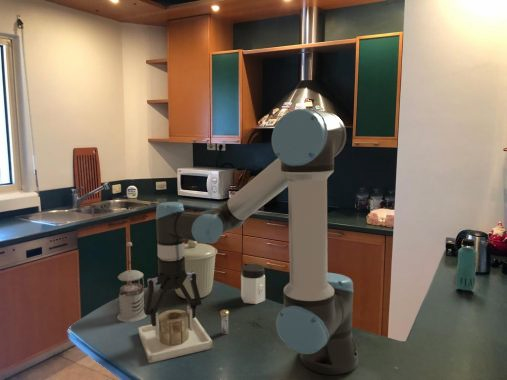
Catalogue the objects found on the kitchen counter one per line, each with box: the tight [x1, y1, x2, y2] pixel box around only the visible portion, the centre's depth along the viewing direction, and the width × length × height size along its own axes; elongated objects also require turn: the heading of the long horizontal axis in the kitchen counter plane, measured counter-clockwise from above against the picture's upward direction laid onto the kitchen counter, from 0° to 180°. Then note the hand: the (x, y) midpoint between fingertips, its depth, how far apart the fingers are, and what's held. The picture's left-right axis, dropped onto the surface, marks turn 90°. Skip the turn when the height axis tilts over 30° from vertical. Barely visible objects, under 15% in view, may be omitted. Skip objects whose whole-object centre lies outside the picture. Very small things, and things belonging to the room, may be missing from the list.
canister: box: [174, 240, 218, 300], centre depth 151 cm, size 18×18×21 cm
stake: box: [219, 309, 230, 335], centre depth 122 cm, size 3×3×7 cm
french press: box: [116, 241, 148, 323], centre depth 134 cm, size 10×12×25 cm
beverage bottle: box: [455, 238, 478, 291], centre depth 153 cm, size 6×7×20 cm
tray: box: [137, 316, 214, 364], centre depth 118 cm, size 18×18×2 cm
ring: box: [158, 309, 189, 346], centre depth 117 cm, size 8×9×7 cm
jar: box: [240, 263, 266, 305], centre depth 146 cm, size 9×8×12 cm
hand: (174, 332), depth 118 cm, fingers open, 9 cm apart
